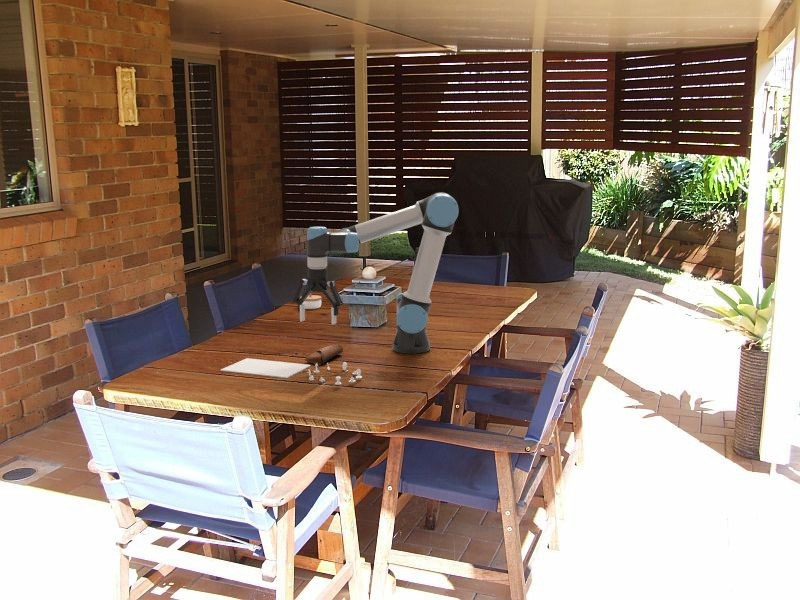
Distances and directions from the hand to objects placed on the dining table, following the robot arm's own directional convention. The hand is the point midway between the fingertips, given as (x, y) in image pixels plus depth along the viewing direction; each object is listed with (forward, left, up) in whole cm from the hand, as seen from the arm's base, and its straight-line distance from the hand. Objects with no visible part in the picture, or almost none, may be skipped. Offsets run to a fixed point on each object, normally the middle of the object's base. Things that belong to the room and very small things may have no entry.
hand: (318, 322), depth 324 cm
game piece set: (-16, +20, -15) cm, 30 cm away
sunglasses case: (0, 0, -15) cm, 15 cm away
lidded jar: (+46, -79, -15) cm, 93 cm away
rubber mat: (+12, +20, -14) cm, 27 cm away
